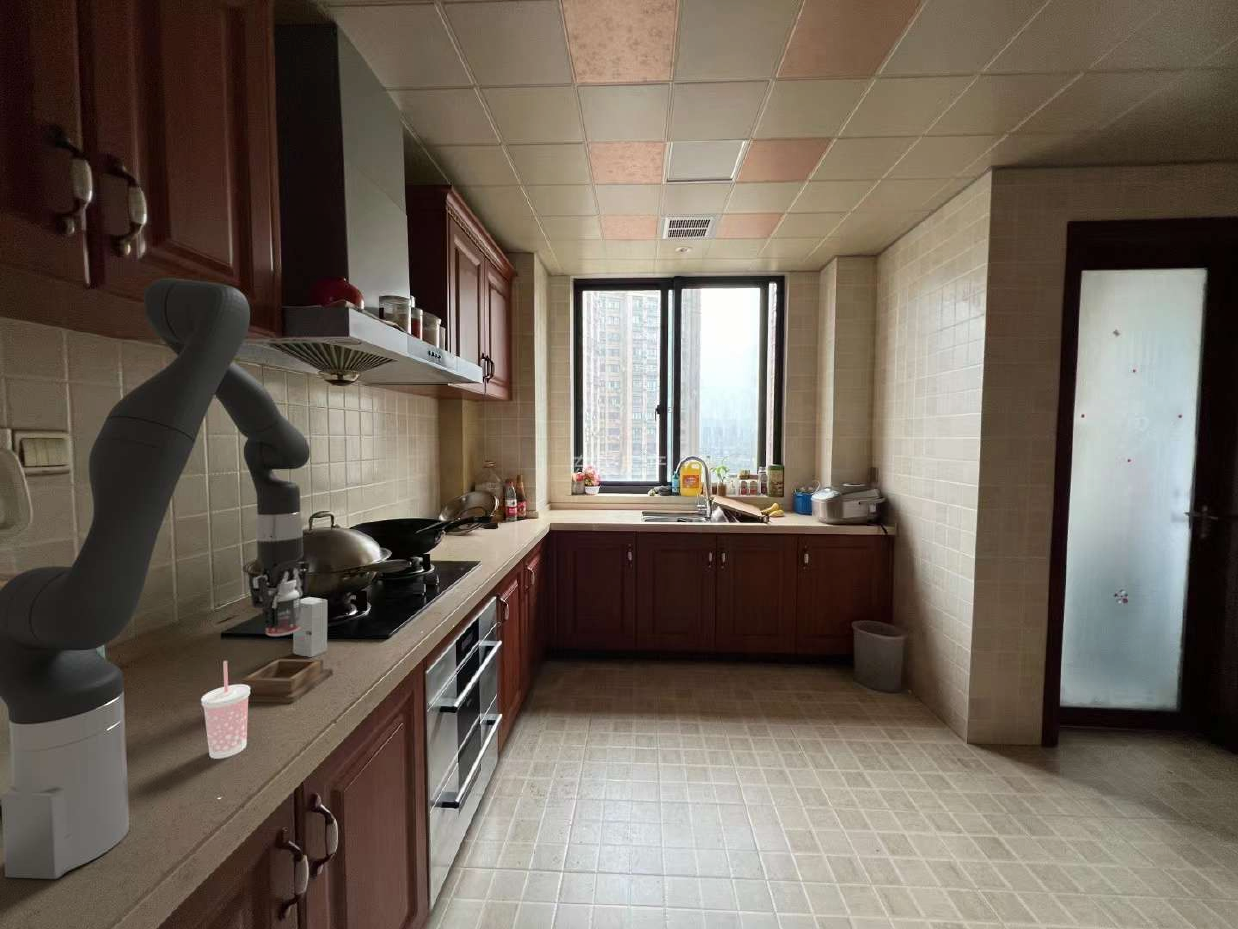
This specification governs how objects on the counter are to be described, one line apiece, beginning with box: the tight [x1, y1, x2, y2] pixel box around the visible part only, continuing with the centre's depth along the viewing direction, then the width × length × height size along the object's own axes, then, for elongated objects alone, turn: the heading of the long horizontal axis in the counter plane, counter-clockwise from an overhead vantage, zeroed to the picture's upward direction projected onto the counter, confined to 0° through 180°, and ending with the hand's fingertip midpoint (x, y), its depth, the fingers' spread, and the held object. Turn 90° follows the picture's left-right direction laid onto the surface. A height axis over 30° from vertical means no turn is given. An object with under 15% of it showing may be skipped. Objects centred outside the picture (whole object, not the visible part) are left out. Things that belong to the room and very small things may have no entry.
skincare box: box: [292, 596, 328, 658], centre depth 120 cm, size 6×4×12 cm
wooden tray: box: [241, 658, 334, 703], centre depth 103 cm, size 12×12×4 cm
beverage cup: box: [200, 660, 250, 759], centre depth 81 cm, size 6×6×14 cm
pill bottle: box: [264, 580, 300, 637], centre depth 102 cm, size 6×6×10 cm
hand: (283, 621), depth 102 cm, fingers closed on pill bottle, 5 cm apart
